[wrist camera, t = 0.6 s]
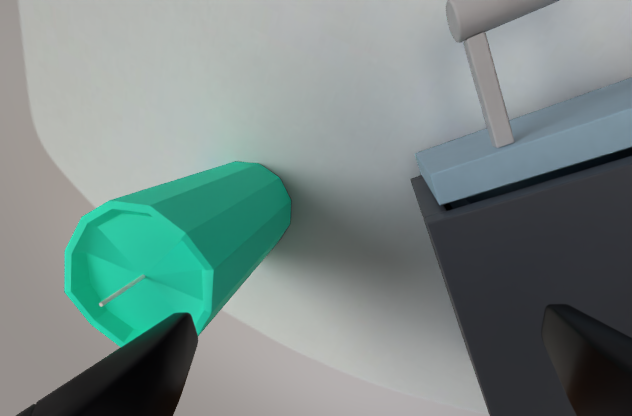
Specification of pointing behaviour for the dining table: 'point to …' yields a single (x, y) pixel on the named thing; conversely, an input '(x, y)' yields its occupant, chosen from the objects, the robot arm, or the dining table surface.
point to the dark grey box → (533, 275)
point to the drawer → (521, 123)
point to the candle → (174, 248)
